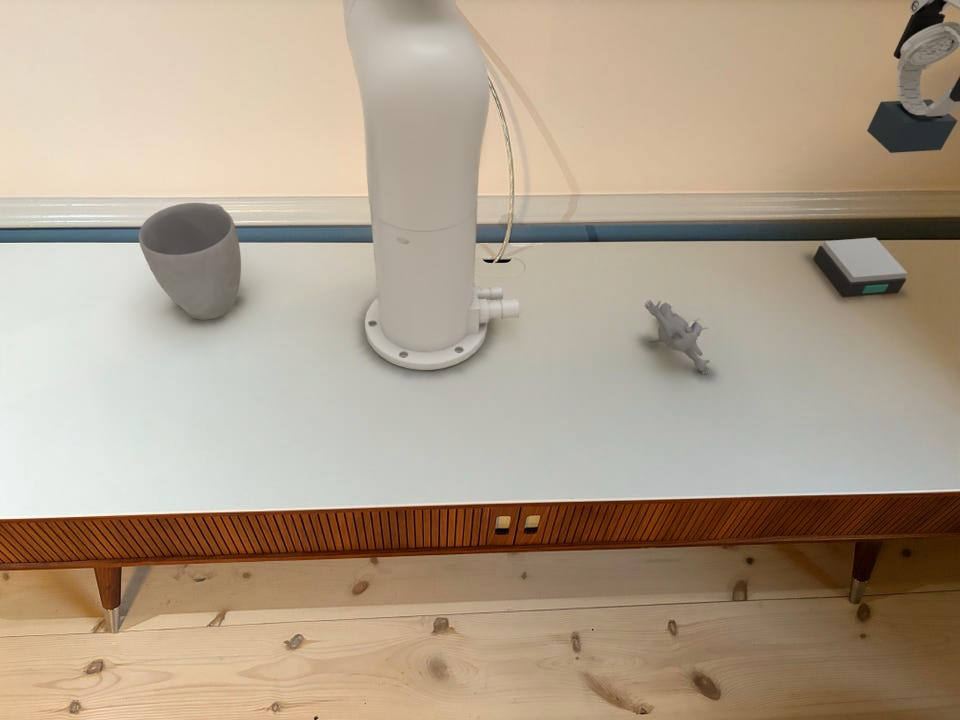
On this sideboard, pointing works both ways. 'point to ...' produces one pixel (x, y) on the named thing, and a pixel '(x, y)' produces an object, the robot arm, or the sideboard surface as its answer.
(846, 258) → the scale
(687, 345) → the grey creature figurine
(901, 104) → the watch
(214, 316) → the mug
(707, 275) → the sideboard surface
